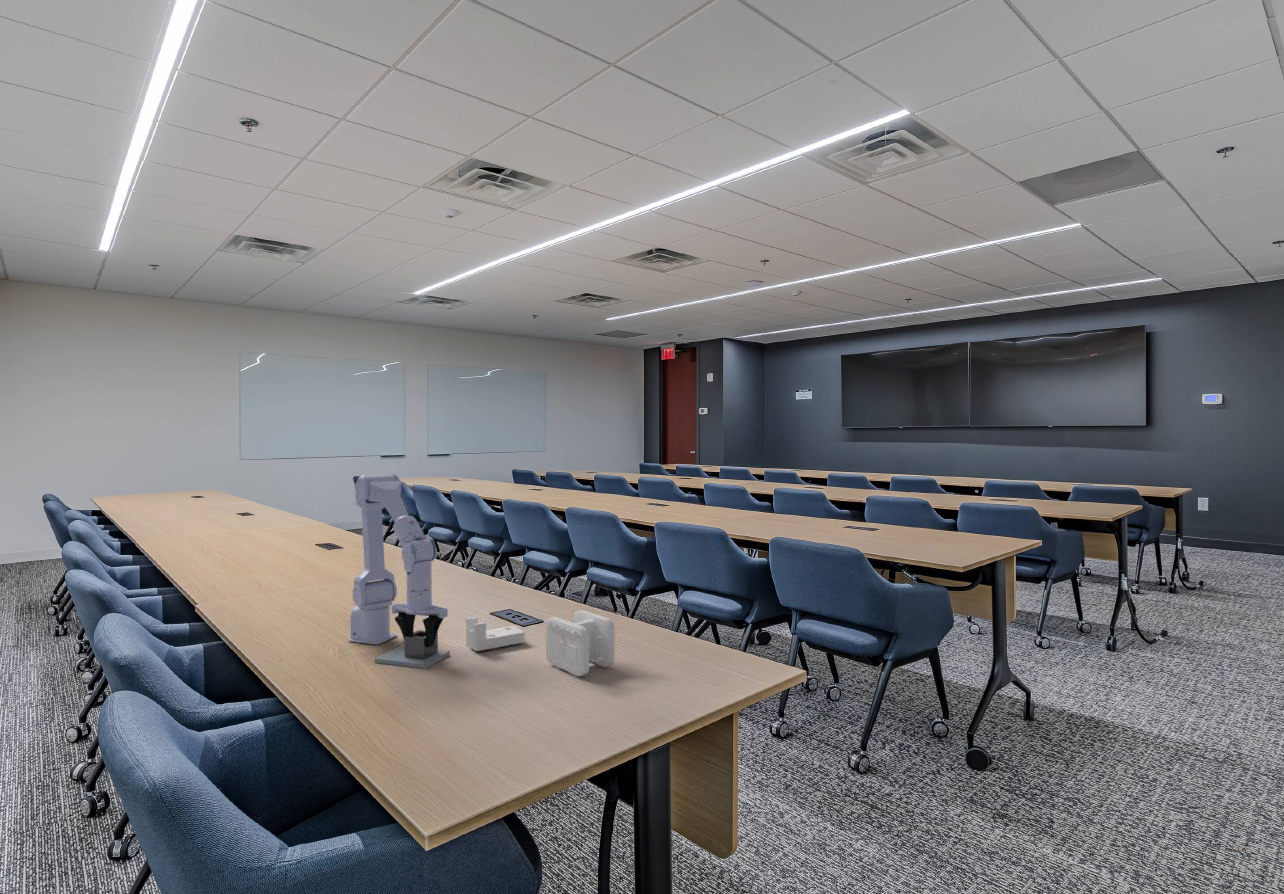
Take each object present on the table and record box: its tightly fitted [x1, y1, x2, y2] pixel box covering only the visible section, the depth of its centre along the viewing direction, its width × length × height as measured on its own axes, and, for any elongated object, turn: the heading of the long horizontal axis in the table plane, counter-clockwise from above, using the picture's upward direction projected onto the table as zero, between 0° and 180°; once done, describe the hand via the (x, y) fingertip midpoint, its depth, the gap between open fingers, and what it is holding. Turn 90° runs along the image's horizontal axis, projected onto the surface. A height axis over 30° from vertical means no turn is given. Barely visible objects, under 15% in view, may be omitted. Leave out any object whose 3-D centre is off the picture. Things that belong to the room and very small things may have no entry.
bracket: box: [465, 616, 525, 652], centre depth 174 cm, size 13×7×8 cm, turn 124°
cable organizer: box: [545, 609, 616, 677], centre depth 158 cm, size 15×11×12 cm
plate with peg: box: [374, 645, 450, 670], centre depth 164 cm, size 14×10×4 cm
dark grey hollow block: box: [403, 629, 439, 659], centre depth 164 cm, size 6×6×5 cm
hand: (419, 644), depth 163 cm, fingers closed on dark grey hollow block, 5 cm apart
